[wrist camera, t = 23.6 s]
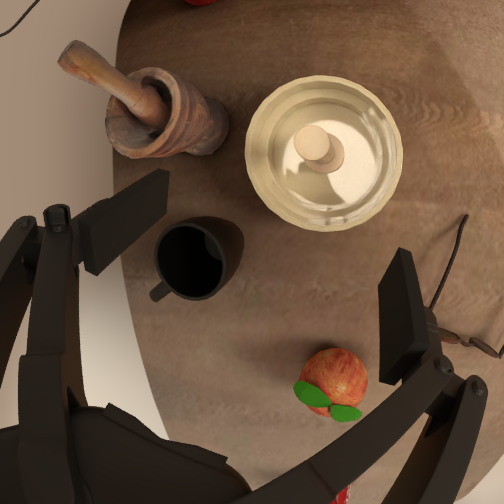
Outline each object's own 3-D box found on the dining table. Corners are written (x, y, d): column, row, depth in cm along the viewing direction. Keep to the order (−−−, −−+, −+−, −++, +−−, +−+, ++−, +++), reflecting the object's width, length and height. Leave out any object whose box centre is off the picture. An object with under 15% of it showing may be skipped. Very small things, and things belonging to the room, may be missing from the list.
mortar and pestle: (147, 125, 38) (25, 115, 20) (180, 72, 35) (66, 26, 16) (208, 171, 37) (90, 182, 19) (248, 114, 34) (149, 68, 15)
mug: (165, 250, 42) (123, 271, 33) (226, 195, 37) (189, 204, 29) (201, 297, 42) (166, 329, 33) (268, 248, 38) (243, 274, 29)
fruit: (333, 322, 38) (326, 368, 28) (382, 363, 37) (387, 414, 28) (289, 361, 41) (273, 409, 32) (338, 397, 40) (331, 448, 31)
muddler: (303, 165, 33) (270, 161, 18) (315, 132, 32) (291, 102, 17) (336, 178, 33) (331, 185, 18) (349, 145, 31) (354, 124, 16)
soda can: (324, 485, 47) (314, 533, 36) (316, 470, 46) (304, 520, 35) (354, 482, 44) (348, 531, 33) (348, 466, 44) (341, 518, 33)
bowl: (243, 192, 37) (225, 196, 31) (285, 74, 31) (274, 57, 26) (362, 242, 34) (366, 256, 28) (410, 121, 29) (422, 112, 23)
